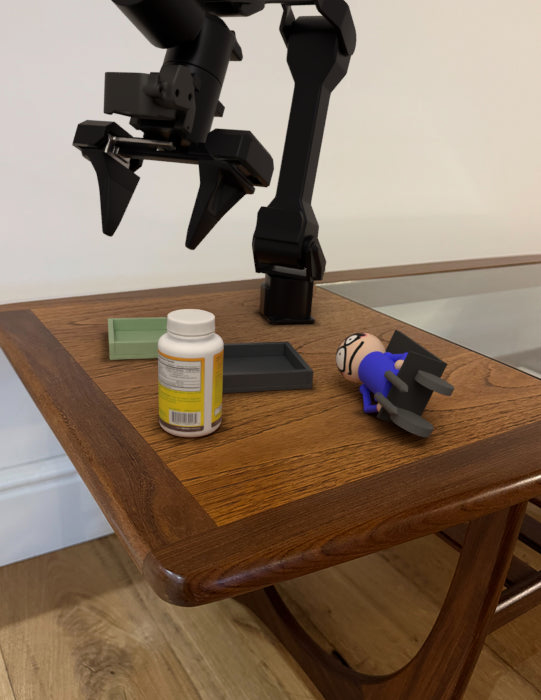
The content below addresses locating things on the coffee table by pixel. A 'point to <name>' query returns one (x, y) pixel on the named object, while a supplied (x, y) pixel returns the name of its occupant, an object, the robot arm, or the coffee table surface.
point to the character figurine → (394, 377)
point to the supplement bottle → (190, 374)
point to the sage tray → (135, 337)
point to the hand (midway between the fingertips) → (146, 241)
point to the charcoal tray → (264, 367)
